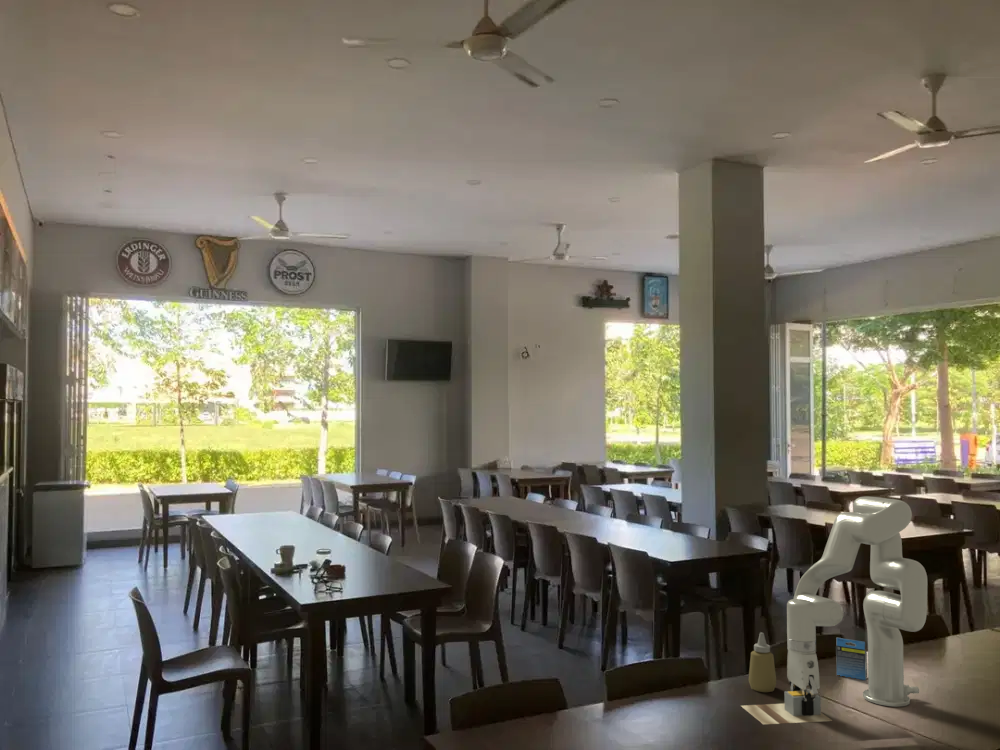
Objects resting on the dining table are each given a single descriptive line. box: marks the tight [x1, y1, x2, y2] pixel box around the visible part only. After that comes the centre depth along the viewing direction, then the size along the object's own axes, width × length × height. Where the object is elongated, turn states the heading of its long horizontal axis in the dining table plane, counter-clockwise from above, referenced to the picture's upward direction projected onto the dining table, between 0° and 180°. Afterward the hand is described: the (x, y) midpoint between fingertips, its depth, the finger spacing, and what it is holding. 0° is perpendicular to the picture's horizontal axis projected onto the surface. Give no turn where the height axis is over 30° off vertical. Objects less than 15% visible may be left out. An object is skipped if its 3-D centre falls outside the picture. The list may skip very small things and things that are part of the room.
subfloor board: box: [740, 702, 833, 726], centre depth 224 cm, size 20×14×2 cm
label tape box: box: [835, 637, 868, 681], centre depth 260 cm, size 9×4×12 cm, turn 57°
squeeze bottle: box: [748, 632, 777, 693], centre depth 244 cm, size 8×8×18 cm
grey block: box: [783, 690, 822, 716], centre depth 225 cm, size 8×5×5 cm, turn 98°
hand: (802, 710), depth 224 cm, fingers closed on grey block, 5 cm apart
